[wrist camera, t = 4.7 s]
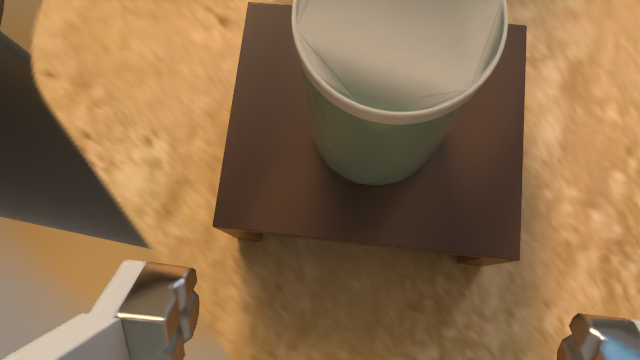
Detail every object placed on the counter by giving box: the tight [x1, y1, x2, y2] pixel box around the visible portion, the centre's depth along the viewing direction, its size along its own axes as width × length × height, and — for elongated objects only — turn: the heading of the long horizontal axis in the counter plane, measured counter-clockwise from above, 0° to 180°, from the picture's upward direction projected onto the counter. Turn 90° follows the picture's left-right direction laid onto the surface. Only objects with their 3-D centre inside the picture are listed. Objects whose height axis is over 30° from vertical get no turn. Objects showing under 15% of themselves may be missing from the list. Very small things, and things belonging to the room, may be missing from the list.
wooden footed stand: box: [213, 2, 527, 266], centre depth 28 cm, size 14×12×6 cm
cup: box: [291, 0, 508, 185], centre depth 20 cm, size 6×6×10 cm
